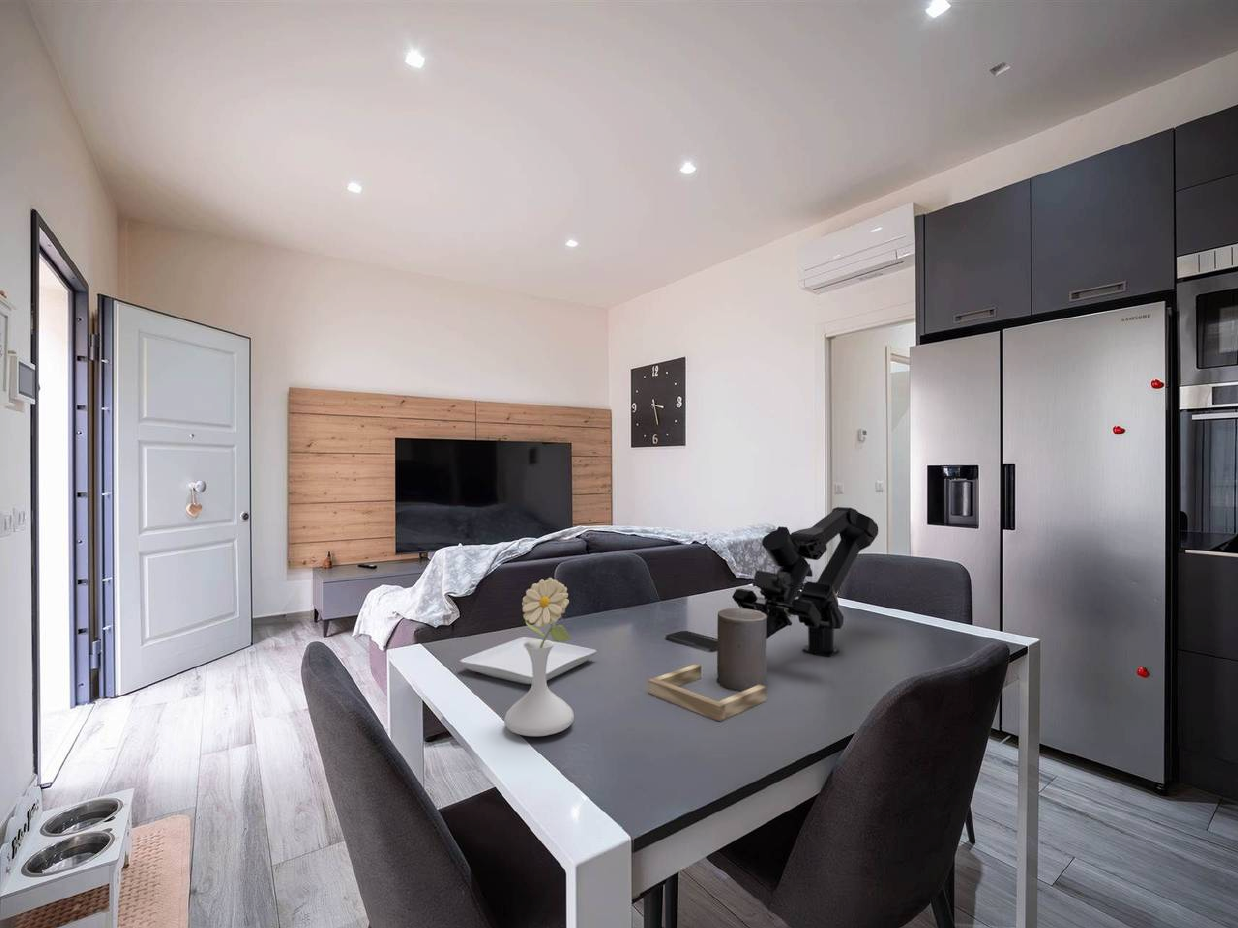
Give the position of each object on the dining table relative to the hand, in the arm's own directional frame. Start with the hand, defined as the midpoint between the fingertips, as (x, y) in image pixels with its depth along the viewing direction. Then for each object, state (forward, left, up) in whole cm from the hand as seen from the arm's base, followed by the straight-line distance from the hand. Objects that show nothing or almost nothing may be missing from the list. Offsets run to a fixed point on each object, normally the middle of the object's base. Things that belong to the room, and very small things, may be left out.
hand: (758, 640), depth 122 cm
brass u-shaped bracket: (+15, -2, -7) cm, 17 cm away
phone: (-12, -22, -8) cm, 26 cm away
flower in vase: (+45, -16, -7) cm, 48 cm away
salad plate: (+26, -40, -8) cm, 49 cm away
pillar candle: (+5, -1, -7) cm, 9 cm away
